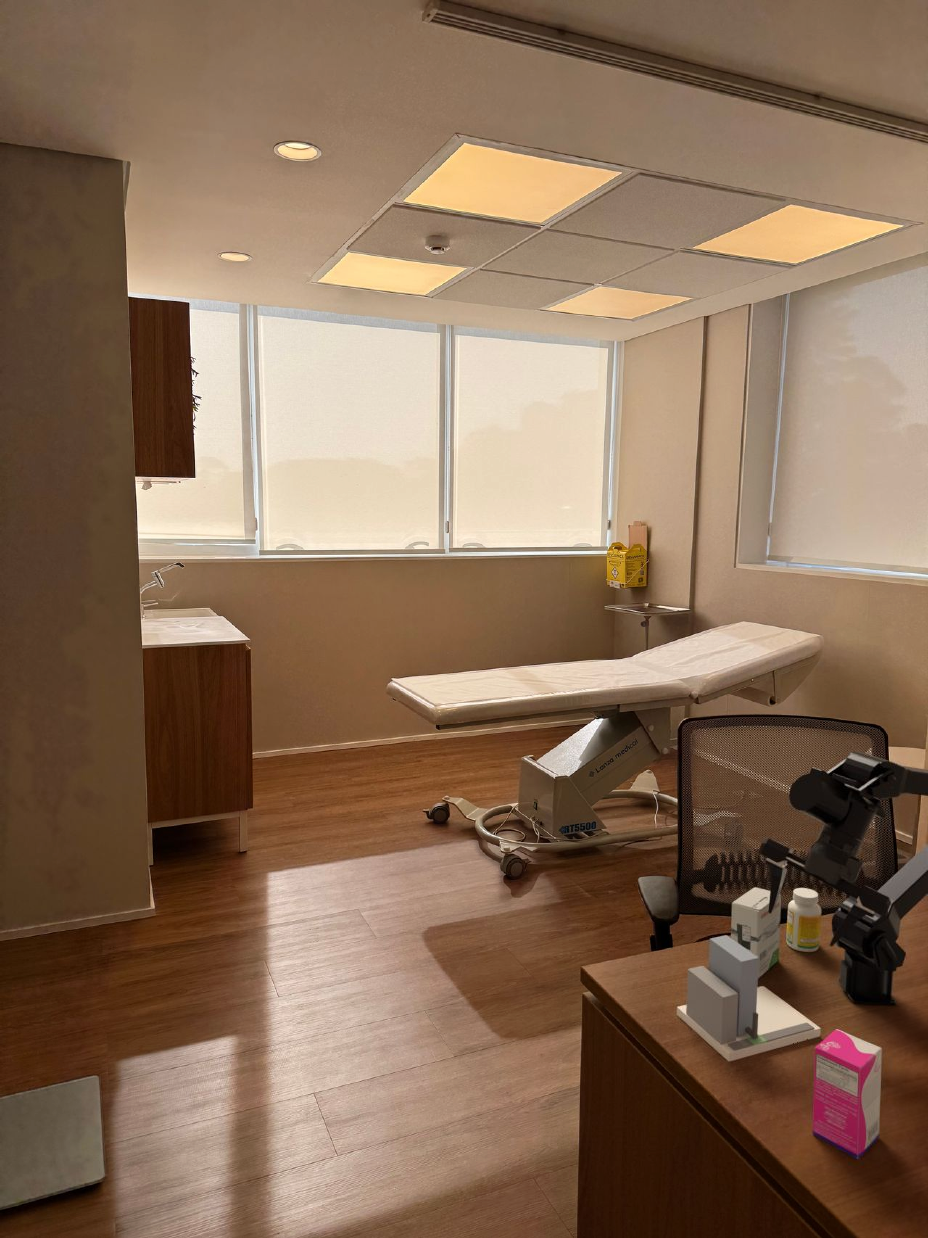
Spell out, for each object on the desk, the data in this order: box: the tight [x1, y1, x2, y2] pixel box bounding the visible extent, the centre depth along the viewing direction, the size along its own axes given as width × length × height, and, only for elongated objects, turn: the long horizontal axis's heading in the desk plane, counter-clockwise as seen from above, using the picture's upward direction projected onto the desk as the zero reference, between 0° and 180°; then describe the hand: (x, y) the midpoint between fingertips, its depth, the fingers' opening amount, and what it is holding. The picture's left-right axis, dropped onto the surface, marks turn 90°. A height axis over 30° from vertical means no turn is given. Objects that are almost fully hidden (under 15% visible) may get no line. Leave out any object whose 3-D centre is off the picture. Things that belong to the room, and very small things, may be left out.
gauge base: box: [676, 965, 822, 1062], centre depth 126 cm, size 16×12×8 cm
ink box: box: [730, 887, 782, 979], centre depth 142 cm, size 9×5×12 cm, turn 136°
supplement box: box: [812, 1028, 883, 1160], centre depth 103 cm, size 6×6×12 cm
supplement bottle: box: [785, 887, 822, 953], centre depth 149 cm, size 5×5×10 cm
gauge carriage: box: [708, 934, 759, 1039], centre depth 123 cm, size 3×9×11 cm, turn 21°
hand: (799, 929), depth 128 cm, fingers open, 9 cm apart
